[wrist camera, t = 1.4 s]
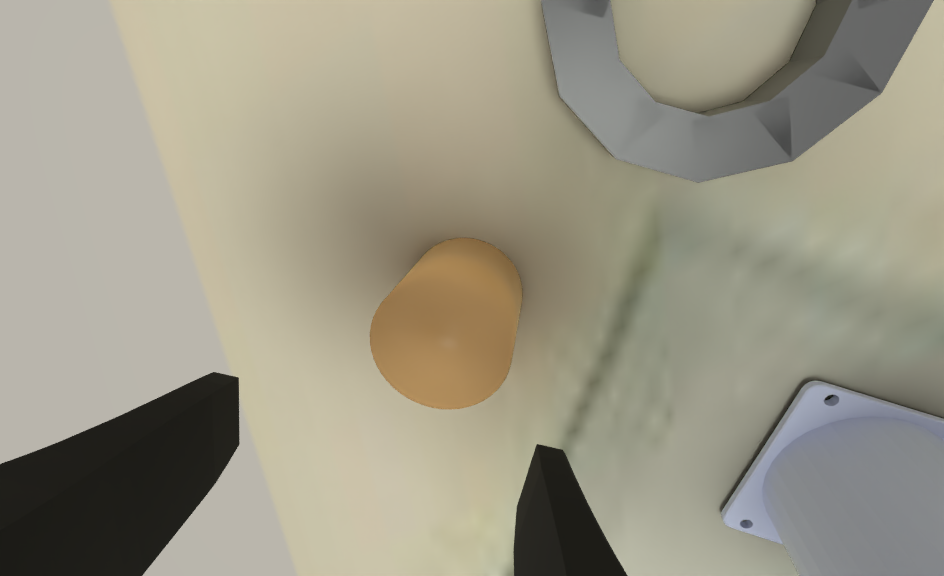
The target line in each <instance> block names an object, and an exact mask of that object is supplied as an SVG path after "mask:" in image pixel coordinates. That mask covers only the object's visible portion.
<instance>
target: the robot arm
mask: <svg viewBox="0 0 944 576" xmlns="http://www.w3.org/2000/svg"><path fill="white" fill-rule="evenodd" d="M828 395H833V397H832V398H831V399H829V400H824V399H825V398H826V397H827V396H828ZM238 446H239V378H238V377H234V376H229V375H225V374H220V373H216V372H213V373H210V374H208V375H206V376H203V377H201V378H199V379H197V380H195V381H193V382H190V383H188V384H186V385H184V386H182V387H180V388H178V389H176V390H174V391H171V392H169V393H167V394H165V395H163V396H161V397H159V398H157V399H155V400H153V401H150V402H148V403H146V404H144V405H142V406H140V407H138V408H136V409H133V410H131V411H129V412H127V413H125V414H123V415H121V416H118V417H116V418H114V419H112V420H109V421H107V422H105V423H102V424H100V425H98V426H95V427H93V428H91V429H88V430H86V431H84V432H81V433H79V434H77V435H74V436H72V437H70V438H68V439H65V440H63V441H60V442H58V443H55V444H53V445H50V446H48V447H45V448H43V449H40V450H37V451H35V452H32V453H30V454H27V455H24V456H22V457H19V458H16V459H13V460H11V461H7V462H5V463H2V464H0V576H142V575H143V574H144V572H145V571H146V570H147V569H148V567H149V566H150V565H151V564H152V563H153V561H154V560H155V559H156V557H157V556H158V555H159V554H160V553H161V551H162V550H163V549H164V548H165V546H166V545H167V544H168V543H169V541H170V540H171V539H172V538H173V536H174V535H175V534H176V533H177V531H178V530H179V529H180V528H181V526H182V525H183V523H185V521H186V520H187V519H188V517H189V516H190V515H191V514H192V512H193V511H194V510H195V509H196V507H197V506H198V505H199V504H200V502H201V501H202V500H203V499H204V497H205V496H206V495H207V493H208V492H209V491H210V489H211V488H212V487H213V486H214V484H215V483H216V481H217V480H218V478H219V477H220V475H221V473H222V471H223V470H224V469H225V467H226V466H227V464H228V462H229V461H230V459H231V457H232V456H233V454H234V452H235V451H236V449H237V447H238ZM721 516H722V519H723V522H724V523H725V524H726V525H727V526H729V527H731V528H734V529H737V530H740V531H743V532H746V533H749V534H752V535H755V536H758V537H761V538H764V539H767V540H770V541H773V542H776V543H780V544H783V545H784V546H785V548H786V550H787V552H788V554H789V556H790V558H791V560H792V562H793V564H794V566H795V568H796V570H797V572H798V574H799V576H944V419H943V418H939V417H936V416H933V415H930V414H926V413H923V412H920V411H916V410H913V409H910V408H907V407H903V406H900V405H897V404H894V403H890V402H887V401H884V400H881V399H877V398H874V397H871V396H868V395H864V394H861V393H858V392H855V391H851V390H848V389H845V388H842V387H838V386H835V385H832V384H828V383H825V382H822V381H810V382H808V383H806V384H805V385H804V386H803V387H802V388H801V390H800V391H799V393H798V394H797V396H796V398H795V399H794V401H793V402H792V404H791V405H790V407H789V408H788V410H787V411H786V413H785V415H784V416H783V418H782V419H781V421H780V422H779V424H778V425H777V427H776V428H775V430H774V431H773V433H772V435H771V436H770V438H769V439H768V441H767V442H766V444H765V445H764V447H763V448H762V450H761V452H760V453H759V455H758V456H757V458H756V459H755V461H754V462H753V464H752V465H751V467H750V468H749V470H748V472H747V473H746V475H745V476H744V478H743V479H742V481H741V482H740V484H739V485H738V487H737V489H736V490H735V492H734V493H733V495H732V496H731V498H730V499H729V501H728V502H727V504H726V505H725V507H724V509H723V510H722V512H721ZM743 520H747V521H743ZM514 576H627V574H626V572H625V571H624V569H623V567H622V566H621V564H620V562H619V560H618V559H617V557H616V555H615V554H614V552H613V550H612V548H611V547H610V545H609V543H608V541H607V539H606V537H605V536H604V534H603V532H602V530H601V528H600V526H599V524H598V522H597V520H596V518H595V517H594V515H593V513H592V511H591V509H590V507H589V505H588V503H587V501H586V499H585V497H584V494H583V492H582V490H581V488H580V486H579V484H578V482H577V479H576V477H575V475H574V473H573V471H572V468H571V466H570V464H569V461H568V459H567V457H566V455H565V453H564V451H563V450H561V449H556V448H552V447H547V446H543V445H538V444H537V445H536V448H535V452H534V455H533V458H532V461H531V464H530V467H529V470H528V474H527V477H526V480H525V483H524V486H523V489H522V493H521V496H520V499H519V502H518V505H517V512H516V525H515V539H514Z"/></svg>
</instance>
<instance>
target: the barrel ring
mask: <svg viewBox="0 0 944 576" xmlns="http://www.w3.org/2000/svg"><path fill="white" fill-rule="evenodd" d="M933 1H934V0H816V7H815V9H814V11H813V13H812V15H811V17H810V19H809V21H808V24H807V26H806V28H805V30H804V32H803V34H802V36H801V38H800V40H799V42H798V45H797V47H796V49H795V51H794V53H793V55H792V57H791V59H790V61H789V63H787V64H786V65H785V66H784V67H783V68H782V69H780V70H779V71H778V72H777V73H776V74H775V75H773V76H772V77H771V78H770V79H769V80H767V81H766V82H765V83H764V84H763V85H762V86H760V87H759V88H758V89H757V90H756V91H754V92H753V93H752V94H751V95H750V96H749V97H747V98H746V99H745V100H744V101H743V102H739V103H735V104H731V105H727V106H723V107H720V108H716V109H712V110H708V111H704V112H700V113H694V112H690V111H687V110H683V109H680V108H676V107H672V106H669V105H665V104H662V103H658V102H655V101H654V100H653V98H652V97H651V96H650V95H649V94H648V93H647V91H646V90H645V89H644V88H643V87H642V86H641V84H640V83H639V82H638V81H637V80H636V79H635V77H634V76H633V75H632V74H631V73H630V72H629V70H628V69H627V68H626V67H625V66H624V64H623V63H622V62H621V61H620V60H619V53H618V47H617V40H616V34H615V27H614V21H613V14H612V8H611V1H610V0H541V3H542V10H543V16H544V21H545V26H546V31H547V36H548V41H549V46H550V51H551V57H552V62H553V67H554V72H555V77H556V82H557V87H558V92H559V97H560V98H561V99H562V100H563V101H564V103H565V104H566V105H567V106H568V107H569V108H570V109H571V110H572V112H573V113H574V114H575V115H576V116H577V117H578V118H579V119H580V121H581V122H582V123H583V124H584V125H585V126H586V127H587V128H588V130H589V131H590V132H591V133H592V134H593V135H594V136H595V137H596V138H597V140H598V141H599V142H600V143H601V144H602V145H603V146H604V147H605V149H606V150H607V151H608V152H609V153H610V154H611V155H612V156H613V157H614V158H615V159H617V160H621V161H624V162H628V163H631V164H635V165H638V166H642V167H645V168H649V169H652V170H656V171H659V172H663V173H666V174H670V175H673V176H677V177H680V178H684V179H687V180H691V181H694V182H698V183H699V182H703V181H707V180H712V179H716V178H721V177H725V176H729V175H734V174H738V173H742V172H747V171H751V170H756V169H760V168H764V167H769V166H773V165H778V164H782V163H786V162H791V161H793V160H795V159H796V158H797V157H799V156H800V155H801V154H802V153H804V152H805V151H806V150H808V149H809V148H810V147H812V146H813V145H814V144H816V143H817V142H818V141H819V140H821V139H822V138H823V137H825V136H826V135H827V134H829V133H830V132H831V131H833V130H834V129H835V128H837V127H838V126H839V125H840V124H842V123H843V122H844V121H846V120H847V119H848V118H850V117H851V116H852V115H854V114H855V113H856V112H857V111H859V110H860V109H861V108H863V107H864V106H865V105H867V104H868V103H869V102H871V101H872V100H873V99H874V98H876V97H877V96H878V95H880V94H881V93H882V92H883V90H884V88H885V86H886V85H887V83H888V81H889V79H890V77H891V76H892V74H893V72H894V70H895V68H896V67H897V65H898V63H899V61H900V60H901V58H902V56H903V54H904V52H905V51H906V49H907V47H908V45H909V44H910V42H911V40H912V38H913V36H914V35H915V33H916V31H917V29H918V27H919V26H920V24H921V22H922V20H923V19H924V17H925V15H926V13H927V11H928V10H929V8H930V6H931V4H932V3H933Z"/></svg>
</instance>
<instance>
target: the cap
mask: <svg viewBox="0 0 944 576" xmlns="http://www.w3.org/2000/svg"><path fill="white" fill-rule="evenodd" d="M522 297H523V293H522V284H521V280H520V277H519V274H518V272H517V270H516V268H515V266H514V265H513V263H512V262H511V261H510V260H509V258H508V257H507V256H506V255H505V254H504V253H503V252H501V251H500V250H499V249H497V248H496V247H494V246H492V245H490V244H489V243H486V242H483V241H481V240H477V239H471V238H455V239H450V240H447V241H443V242H441V243H439V244H437V245H435V246H434V247H432V248H431V249H430V250H428V251H427V252H426V253H425V254H424V255H423V256H422V258H421V259H420V260H419V261H418V262H417V263H416V264H415V266H414V267H413V268H412V269H411V270H410V271H409V272H408V273H407V275H406V276H405V277H404V278H403V279H402V280H401V281H400V283H399V284H398V285H397V286H396V287H395V288H394V289H393V290H392V292H391V293H390V294H389V295H388V296H387V297H386V298H385V299H384V301H383V302H382V303H381V304H380V306H379V307H378V309H377V310H376V313H375V315H374V317H373V320H372V324H371V329H370V345H371V351H372V354H373V358H374V360H375V363H376V365H377V367H378V369H379V370H380V372H381V374H382V375H383V376H384V378H385V379H386V380H387V381H388V382H389V383H390V384H391V386H392V387H393V388H395V389H396V390H397V391H398V392H400V393H401V394H402V395H404V396H405V397H407V398H409V399H411V400H413V401H414V402H417V403H419V404H422V405H425V406H428V407H432V408H438V409H460V408H465V407H469V406H472V405H475V404H478V403H480V402H482V401H484V400H485V399H487V398H488V397H490V396H491V395H492V394H493V393H494V392H496V391H497V389H498V388H499V387H500V386H501V385H502V383H503V382H504V380H505V378H506V376H507V374H508V372H509V369H510V365H511V361H512V356H513V350H514V344H515V339H516V333H517V327H518V322H519V316H520V310H521V305H522Z"/></svg>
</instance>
